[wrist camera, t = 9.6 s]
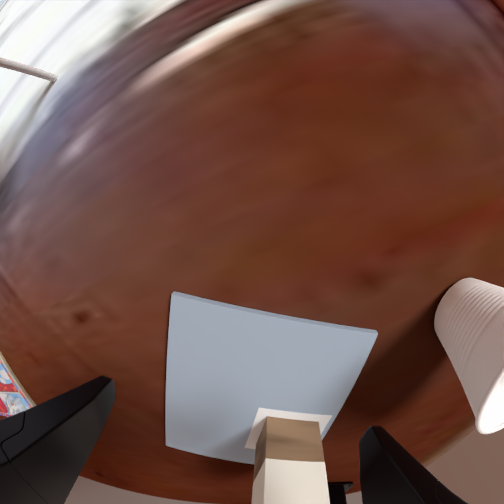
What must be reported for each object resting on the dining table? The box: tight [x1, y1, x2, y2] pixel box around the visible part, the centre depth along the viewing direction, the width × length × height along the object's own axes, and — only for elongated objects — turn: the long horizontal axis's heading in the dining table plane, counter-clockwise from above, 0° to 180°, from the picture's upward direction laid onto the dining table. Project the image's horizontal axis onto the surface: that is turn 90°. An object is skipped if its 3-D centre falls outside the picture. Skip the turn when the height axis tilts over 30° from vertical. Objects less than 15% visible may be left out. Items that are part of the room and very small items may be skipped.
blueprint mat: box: [165, 291, 378, 464], centre depth 23 cm, size 20×16×1 cm
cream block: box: [252, 458, 330, 504], centre depth 16 cm, size 5×5×5 cm
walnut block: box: [253, 416, 325, 482], centre depth 21 cm, size 5×5×5 cm
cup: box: [434, 278, 504, 434], centre depth 14 cm, size 10×10×11 cm
